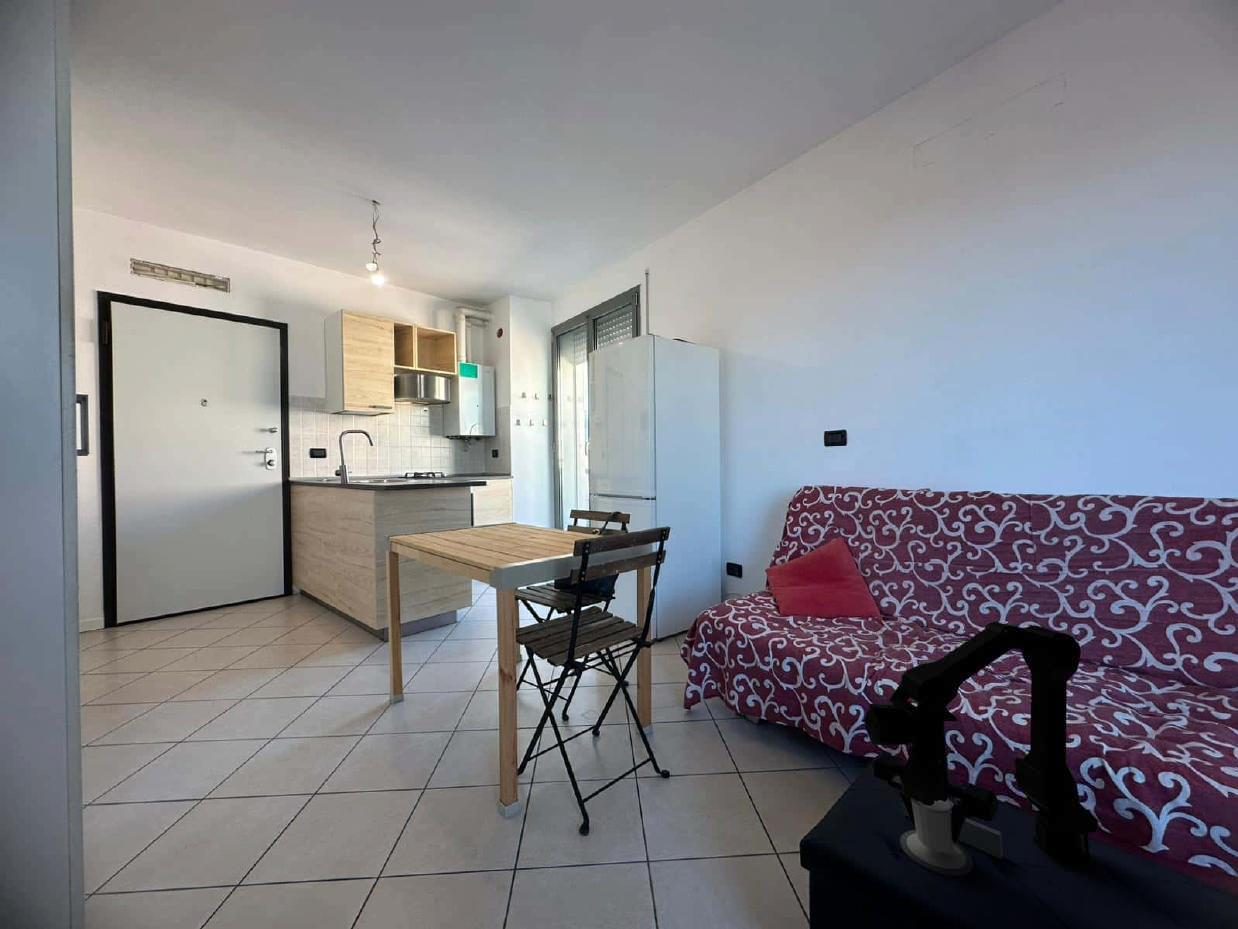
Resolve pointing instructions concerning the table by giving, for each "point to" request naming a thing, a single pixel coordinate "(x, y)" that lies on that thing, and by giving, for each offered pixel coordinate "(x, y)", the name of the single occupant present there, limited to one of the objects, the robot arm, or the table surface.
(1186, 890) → the table surface
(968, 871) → the grey round disc
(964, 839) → the low wall
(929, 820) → the shot glass
